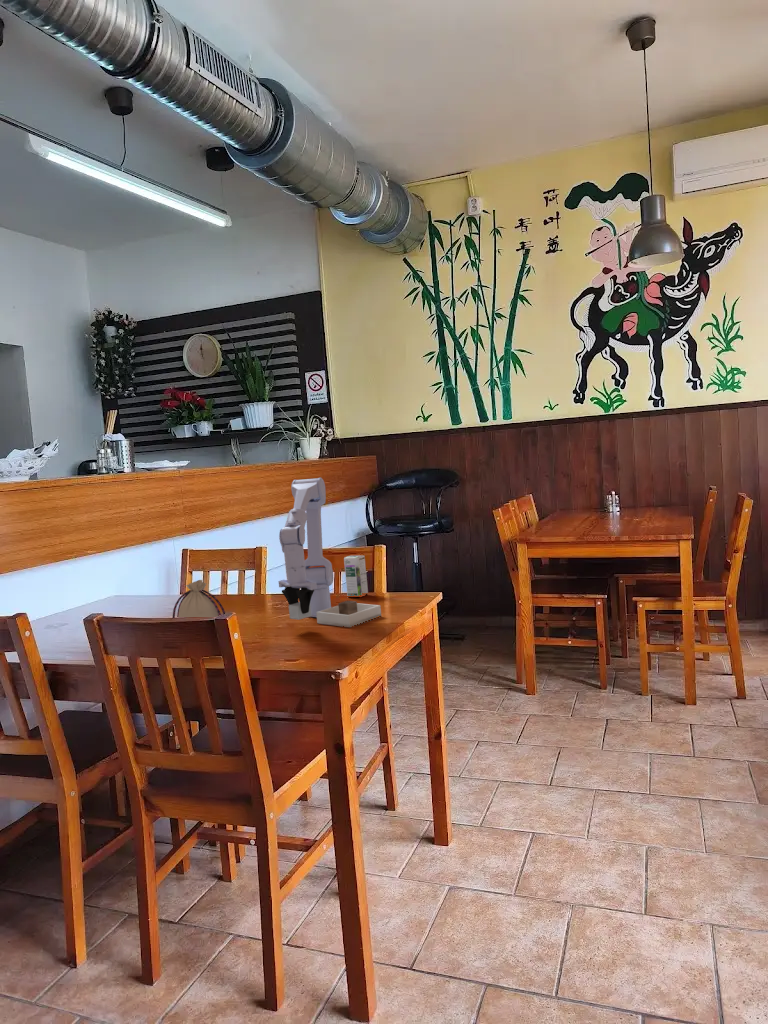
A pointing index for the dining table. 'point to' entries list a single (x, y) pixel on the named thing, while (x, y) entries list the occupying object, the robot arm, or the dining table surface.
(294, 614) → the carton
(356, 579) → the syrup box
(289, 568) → the robot arm
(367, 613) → the tote
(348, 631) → the dining table surface
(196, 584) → the pouch
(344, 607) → the walnut block
